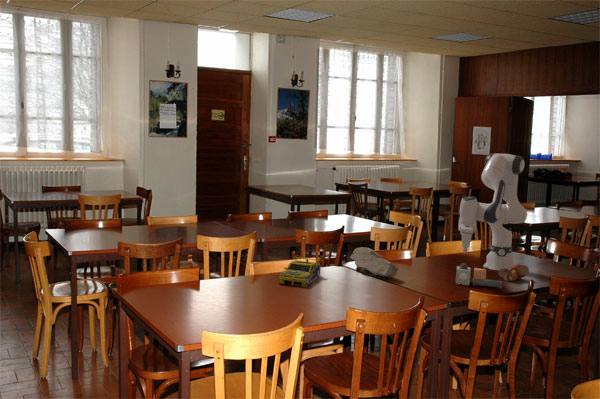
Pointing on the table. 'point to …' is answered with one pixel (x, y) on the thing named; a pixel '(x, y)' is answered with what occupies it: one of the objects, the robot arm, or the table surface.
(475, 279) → the carriage
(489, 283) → the rail
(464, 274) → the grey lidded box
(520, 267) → the figurine
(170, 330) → the table surface
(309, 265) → the toy car
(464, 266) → the plunger
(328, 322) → the table surface
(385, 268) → the stone block
